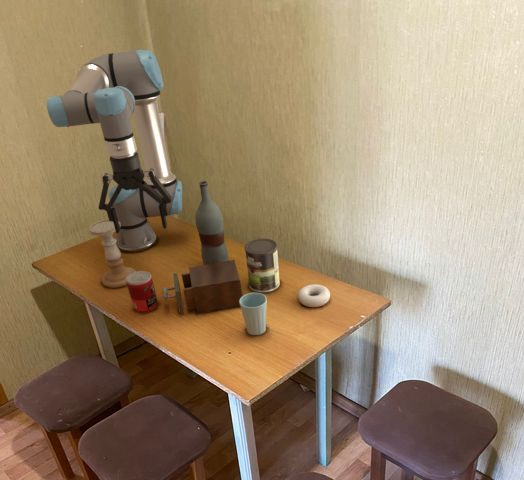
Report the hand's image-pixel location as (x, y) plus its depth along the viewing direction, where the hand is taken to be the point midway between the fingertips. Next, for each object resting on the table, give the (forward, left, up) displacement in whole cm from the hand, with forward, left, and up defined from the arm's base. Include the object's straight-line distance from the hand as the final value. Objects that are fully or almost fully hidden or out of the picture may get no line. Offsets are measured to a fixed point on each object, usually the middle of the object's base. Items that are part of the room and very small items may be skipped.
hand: (141, 228), depth 152 cm
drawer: (+1, +10, -26) cm, 28 cm away
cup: (+21, +27, -27) cm, 44 cm away
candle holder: (-23, -14, -27) cm, 38 cm away
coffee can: (-3, +34, -27) cm, 44 cm away
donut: (+11, +47, -27) cm, 56 cm away
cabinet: (+1, +18, -27) cm, 33 cm away
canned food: (-2, -5, -27) cm, 28 cm away
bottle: (-21, +20, -27) cm, 40 cm away
